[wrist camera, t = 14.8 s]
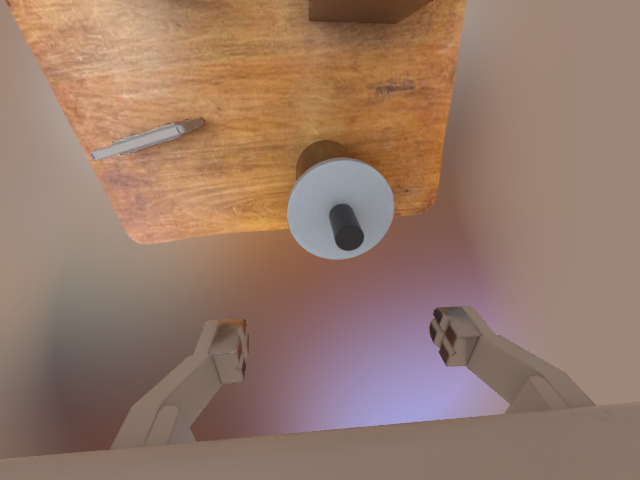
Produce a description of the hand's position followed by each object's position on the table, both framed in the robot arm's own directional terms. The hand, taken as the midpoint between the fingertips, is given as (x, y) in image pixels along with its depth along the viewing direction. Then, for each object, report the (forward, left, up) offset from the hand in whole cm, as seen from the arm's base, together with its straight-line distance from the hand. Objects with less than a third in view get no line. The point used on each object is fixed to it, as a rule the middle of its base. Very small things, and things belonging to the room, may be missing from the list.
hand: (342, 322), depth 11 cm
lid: (-3, +3, -18) cm, 18 cm away
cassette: (+20, -3, -34) cm, 40 cm away
